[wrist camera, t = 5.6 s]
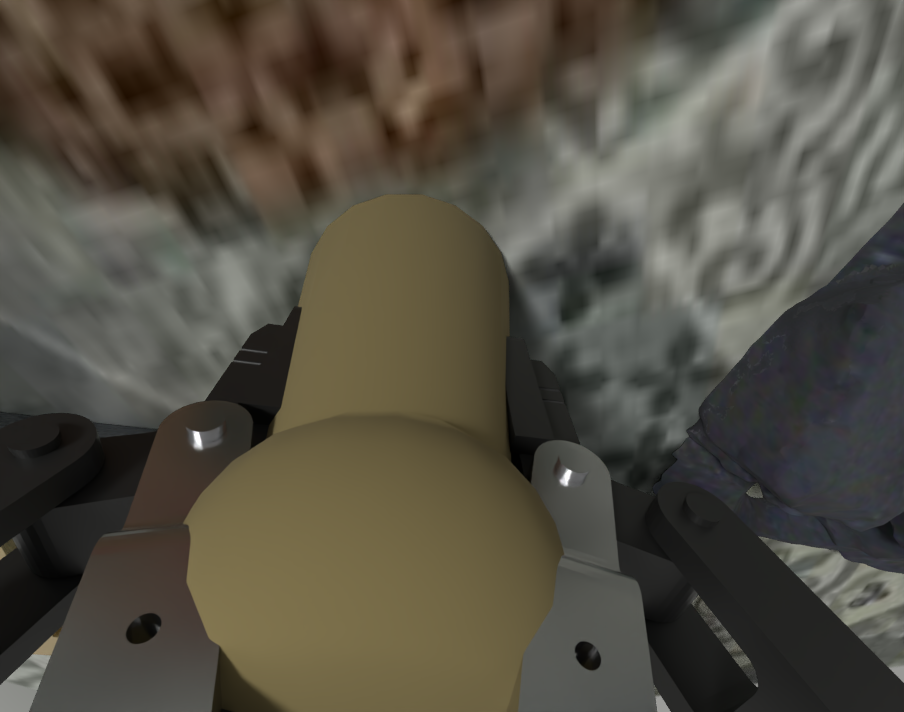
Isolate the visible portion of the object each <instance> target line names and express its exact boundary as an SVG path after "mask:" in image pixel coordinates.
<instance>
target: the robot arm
mask: <svg viewBox="0 0 904 712" xmlns="http://www.w3.org/2000/svg"><path fill="white" fill-rule="evenodd" d="M301 311H302V307H298V306H295V307H294V308H293V310H292V312H291V313H290V315H289V317H288V318H287V320H286V322H285V323H284V325H283V326H281V325H273V324H267V325H266V326H264V327H262V328H261V329H259V330H257V331H256V332H254V333H252V334H251V335H250V336H249V338H248V339H247V341H246V342H245V344H244V345H243V346H242V349H241V351H239V352H238V354H237V355H236V357H235V358H234V361H233V362H231V364H230V365H229V367H228V368H227V370H226V371H225V372H224V374H223V375H222V377H221V378H220V380H219V381H218V383H217V384H216V385H215V387H214V388H213V390H212V391H211V393H210V394H209V396H208V397H207V399H206V400H205V401H203V402H197V403H194V404H190V405H187V406H185V407H182V408H180V409H178V410H176V411H175V412H173V413H172V414H170V415H169V416H168V417H167V418H166V419H164V421H163V422H162V423H161V424H160V426H159V428H158V430H157V431H153V432H148V433H140V434H131V435H122V436H113V437H103V438H99V435H98V432H97V429H96V427H95V425H94V423H92V422H91V421H90V420H89V419H87V418H85V417H83V416H80V415H76V414H70V413H51V414H44V415H38V416H34V417H29V418H26V419H23V420H20V421H17V422H14V423H12V424H9V425H7V426H5V427H3V428H1V429H0V547H1V546H2V545H4V544H5V543H7V542H8V541H9V540H11V539H13V540H14V542H15V544H16V546H17V548H15V549H14V550H13V551H11V552H10V553H9V554H7V555H6V556H5V557H3V558H2V559H1V560H0V685H1V683H3V682H4V681H5V680H6V679H7V678H8V677H9V676H10V675H11V674H12V673H13V672H14V671H15V670H16V669H17V668H18V667H20V666H21V665H22V664H23V663H24V662H25V661H26V660H27V659H28V658H29V657H30V656H31V655H32V654H33V653H34V652H35V651H36V650H37V649H39V648H40V647H41V646H42V645H43V644H44V643H45V642H46V641H47V640H48V639H49V638H50V637H51V636H52V635H53V634H54V633H55V632H56V631H58V630H59V629H60V628H61V627H62V626H63V627H62V629H61V632H60V634H59V637H58V639H57V642H56V644H55V647H54V649H53V652H52V655H51V657H50V660H49V662H48V665H47V667H46V670H45V672H44V675H43V677H42V680H41V682H40V685H39V688H38V690H37V693H36V695H35V698H34V700H33V703H32V706H31V708H30V711H29V712H233V711H229V710H225V709H222V708H221V707H222V694H221V680H220V646H219V645H218V644H216V643H215V642H213V641H212V640H210V639H209V637H208V635H207V632H206V630H205V627H204V625H203V622H202V620H201V617H200V615H199V612H198V610H197V607H196V605H195V602H194V600H193V597H192V595H191V592H190V590H189V587H188V585H187V582H186V580H187V571H188V562H189V552H190V542H191V536H190V531H189V526H188V525H187V524H183V522H184V520H185V519H186V517H187V515H188V513H189V512H190V510H191V508H192V507H193V505H194V504H195V502H196V501H197V499H198V497H199V496H200V494H201V493H202V492H203V491H204V490H205V489H206V488H207V487H208V486H209V485H210V484H211V483H212V482H213V481H214V480H215V479H216V478H217V477H218V475H219V474H220V473H221V472H222V471H223V470H224V469H225V468H226V467H227V466H228V465H229V464H230V463H231V462H232V461H233V460H235V459H236V458H238V457H239V456H241V455H243V454H244V453H246V452H247V451H249V450H250V449H252V448H253V447H255V446H256V445H258V444H260V443H261V442H263V441H264V440H265V439H266V436H267V432H268V428H269V424H270V423H271V422H272V420H273V419H274V417H275V416H276V414H277V413H278V411H279V410H280V408H281V405H282V401H283V396H284V391H285V387H286V382H287V377H288V372H289V368H290V363H291V358H292V353H293V349H294V344H295V339H296V335H297V330H298V325H299V320H300V316H301ZM505 388H506V402H507V416H508V429H509V443H510V452H511V463H512V464H513V465H514V466H515V467H516V468H517V469H518V471H519V472H520V473H521V474H522V475H523V476H524V477H525V478H526V479H527V480H528V481H529V482H530V484H531V485H532V486H533V487H534V488H535V489H536V491H537V493H538V494H539V496H540V498H541V499H542V501H543V503H544V505H545V506H546V508H547V510H548V511H549V513H550V515H551V516H552V518H553V520H554V522H555V524H556V527H557V530H558V534H559V537H560V540H561V544H562V547H563V551H564V555H562V556H561V560H560V561H559V564H558V567H557V572H556V581H555V590H554V599H553V606H552V608H551V610H550V611H549V613H548V614H547V616H546V618H545V619H544V621H543V623H542V624H541V626H540V627H539V629H538V631H537V632H536V634H535V636H534V637H533V639H532V640H531V642H530V644H529V645H528V647H527V649H526V650H525V652H524V653H523V657H522V661H521V664H520V668H519V671H518V675H517V678H516V682H515V685H514V689H513V692H512V695H511V699H510V702H509V705H508V707H507V712H657V706H656V699H655V691H654V685H655V687H656V688H657V690H658V692H659V693H660V695H661V696H662V698H663V700H664V701H665V703H666V705H667V706H668V708H669V709H670V711H671V712H904V683H903V682H902V681H901V680H900V679H899V678H898V677H897V676H896V675H895V674H894V673H893V672H892V671H891V670H890V669H889V668H888V667H887V666H886V665H885V664H884V663H883V662H882V661H881V660H880V659H879V658H878V657H877V656H876V655H875V654H874V653H873V652H872V651H871V650H870V649H869V648H868V647H867V646H866V645H865V644H864V643H863V642H862V641H861V640H860V639H859V638H858V637H857V636H856V635H855V634H854V633H853V632H852V631H851V630H850V629H849V628H848V627H847V626H846V625H845V624H844V623H843V622H842V621H841V620H840V619H839V618H838V617H837V616H836V615H835V614H834V613H833V612H832V611H831V610H830V609H829V608H828V607H827V606H826V605H825V604H824V603H823V602H822V601H821V600H820V599H819V598H818V597H817V596H816V595H815V594H814V593H813V592H812V591H811V590H810V589H809V588H808V587H807V586H806V584H805V583H804V582H803V581H802V580H801V579H800V578H799V577H798V576H797V575H796V574H795V573H794V572H793V571H792V570H791V569H790V568H789V567H788V566H787V565H786V564H785V563H784V562H783V561H782V560H781V559H780V558H779V557H778V556H777V555H776V554H775V553H774V552H773V551H772V550H771V549H770V548H769V547H768V546H767V545H766V544H765V543H764V542H763V541H762V540H761V539H760V538H759V537H758V536H757V535H756V534H755V533H754V532H753V531H752V530H751V529H750V528H749V527H748V526H747V525H746V524H745V523H744V522H743V521H742V520H741V519H740V518H739V517H738V516H737V515H736V514H735V513H734V512H733V511H732V510H731V509H730V508H729V507H728V506H727V505H726V504H725V503H723V502H722V501H721V500H720V499H719V498H717V497H716V496H715V495H713V494H711V493H710V492H708V491H706V490H704V489H702V488H700V487H698V486H695V485H692V484H689V483H685V482H670V483H667V484H665V485H663V486H662V487H661V488H660V489H659V491H658V493H657V494H656V496H652V495H649V494H646V493H644V492H641V491H638V490H635V489H633V488H630V487H627V486H624V485H622V484H619V483H617V482H615V481H613V480H611V478H610V473H609V471H608V469H607V467H606V466H605V464H604V463H603V462H602V460H601V459H600V458H599V457H598V456H597V455H595V454H594V453H593V452H591V451H590V450H588V449H587V448H585V447H583V446H581V445H580V443H579V440H578V437H577V435H576V432H575V429H574V426H573V424H572V421H571V418H570V415H569V413H568V410H567V407H566V405H565V404H564V399H563V396H562V393H561V392H560V388H559V385H558V382H557V380H556V377H555V375H554V374H553V373H552V372H551V370H550V369H549V368H548V367H547V366H546V365H545V364H544V363H543V362H542V361H535V360H530V357H529V354H528V351H527V347H526V344H525V341H524V339H522V338H516V337H509V336H507V337H506V380H505ZM698 595H699V596H700V597H701V598H702V600H703V601H704V602H705V603H706V605H707V606H708V607H709V609H710V610H711V611H712V612H713V614H714V615H715V616H716V617H717V619H718V620H719V621H720V622H721V624H722V625H723V626H724V627H725V629H726V630H727V631H728V632H729V634H730V635H731V636H732V638H733V639H734V640H735V641H736V643H737V644H738V645H739V646H740V648H741V649H742V650H743V651H744V653H745V654H746V655H747V657H748V658H749V659H750V661H751V663H752V665H753V667H754V669H755V671H756V674H757V678H758V687H756V686H755V685H754V684H753V683H752V682H751V681H750V680H749V678H748V677H747V676H746V674H745V673H744V672H743V671H742V669H741V668H740V667H739V665H738V664H737V663H736V661H735V660H734V659H733V658H732V656H731V655H730V654H729V652H728V651H727V650H726V648H725V647H724V646H723V645H722V643H721V642H720V641H719V639H718V638H717V637H716V635H715V634H714V633H713V631H712V630H711V629H710V628H709V626H708V625H707V624H706V622H705V621H704V620H703V618H702V617H701V616H700V615H699V613H698V612H697V611H696V609H695V608H694V607H693V605H692V604H691V603H692V602H693V600H694V599H695V598H696V597H697V596H698ZM653 683H654V684H653Z"/></svg>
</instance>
